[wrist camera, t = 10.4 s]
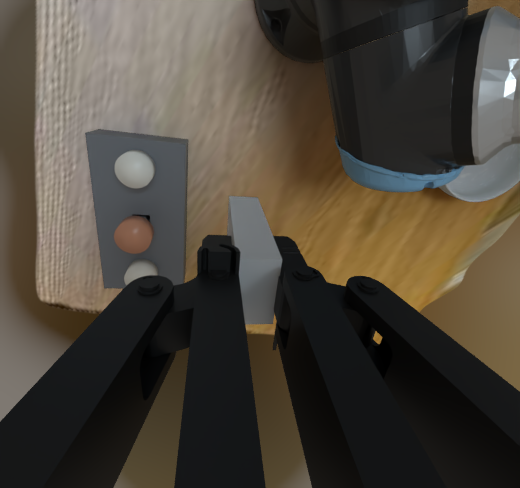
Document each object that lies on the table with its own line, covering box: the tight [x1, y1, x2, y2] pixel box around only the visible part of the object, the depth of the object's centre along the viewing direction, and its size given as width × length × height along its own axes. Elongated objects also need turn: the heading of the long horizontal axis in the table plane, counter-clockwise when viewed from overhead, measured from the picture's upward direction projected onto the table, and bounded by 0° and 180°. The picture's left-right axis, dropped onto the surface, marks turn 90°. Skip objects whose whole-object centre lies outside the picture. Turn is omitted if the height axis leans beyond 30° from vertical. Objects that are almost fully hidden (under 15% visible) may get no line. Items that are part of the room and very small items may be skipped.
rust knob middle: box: [114, 215, 154, 254], centre depth 40 cm, size 4×4×7 cm
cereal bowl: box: [439, 143, 520, 202], centre depth 46 cm, size 17×17×7 cm
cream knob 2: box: [124, 259, 158, 286], centre depth 46 cm, size 4×4×7 cm
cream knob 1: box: [115, 150, 156, 188], centre depth 39 cm, size 4×4×7 cm
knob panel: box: [85, 129, 188, 288], centre depth 44 cm, size 12×23×5 cm, turn 172°
